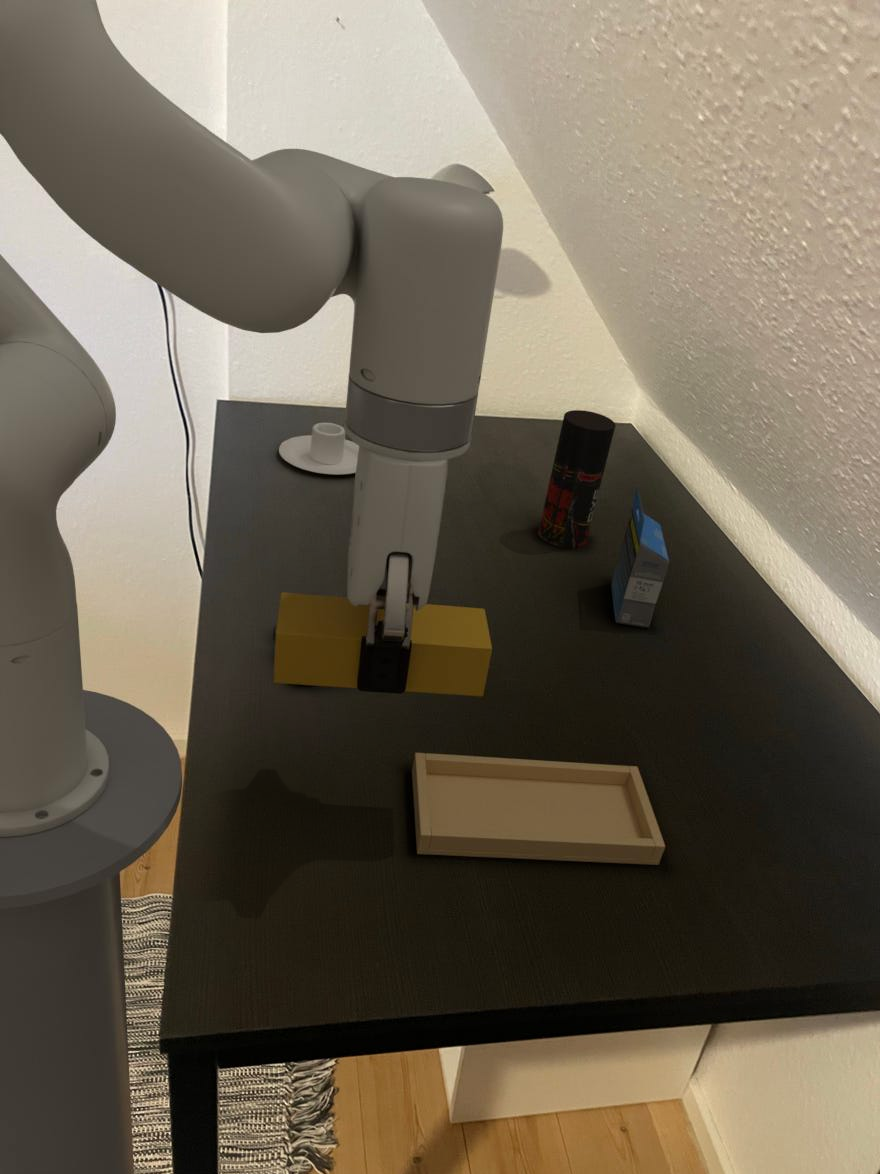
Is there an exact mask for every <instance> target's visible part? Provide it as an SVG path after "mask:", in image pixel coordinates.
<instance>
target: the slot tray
mask: <svg viewBox="0 0 880 1174" xmlns="http://www.w3.org/2000/svg"><path fill="white" fill-rule="evenodd" d="M411 778H412V779H411V780H412V793H413V794H412V795H413V808H414V809H413V810H414V811H413V813H414V825H415V827H414V828H415V844H416V854H417V855H433V856H453V857H477V858H495V859H496V858H497V859H499V858H500V859H519V860H521V859H522V860H543V861H562V862H566V861H567V862H586V863H587V862H588V863H606V864H607V863H608V864H630V865H652V866H653V865H654V866H655V865H656V866H659V865H660V862H661V860H662V856H663V854H664V852H665V849H666V844H665V841H664V839H663V835H662V833H661V830H660V826H659V824H658V821H657V819H656V816H655V813H654V810H653V806H652V804H651V802H650V798H649V795H648V793H647V790H646V787H645V784H644V781H643V778H642V776H641V773H640V770H639V767H638V766H637V765H636V766H634V765H620V764H619V765H618V764H601V763H589V762H588V763H586V762H571V761H570V762H569V761H556V760H555V761H553V760H539V759H538V760H537V759H524V758H506V757H492V756H478V755H477V756H475V755H461V754H459V755H458V754H446V753H445V754H444V753H429V752H428V753H424V752H415V753H414V756H413V763H412V768H411Z"/></svg>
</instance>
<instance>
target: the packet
mask: <svg viewBox="0 0 880 1174" xmlns="http://www.w3.org/2000/svg"><path fill="white" fill-rule="evenodd" d="M368 610H369V605H368V606H365V605H358V606H354V605H352V604H351V603H350V601H349V600H348V597H344V596H342V597H341V596H329V595H317V594H306V593H292V592H281V593H280V599H279V607H278V612H277V613H278V614H277V622H276V625H277V628H276V639H275V642H274V659H273V660H274V662H273V683H274V684H286V685H300V686H315V687H329V688H347V689H358V688H357V678H358V668H359V659H360V649H361V640H362V636H365V637H366V633H367V622H368ZM486 614H487V613H486V609H485V608H481V607H479V608H478V607H466V606H455V605H444V604H443V605H442V604H431V603H429V604H428V603H426V605H425V606H424V607H423V608H422V609H420V610H418V611H416V608H415V607H414V609H413V619H412V628H411V638H410V640H412V648H411V655H410V662H409V669H408V676H407V683H406V690H405V692H407V693H421V694H422V693H423V694H437V695H452V696H453V695H454V696H466V697H467V696H469V697H483V696H484V694H485V689H486V683H487V679H488V678H487V677H488V674H489V673H488V672H489V668H490V662H491V658H492V657H491V656H492V654H493V653H492V652H493V646H492V645H493V644H492V640H491V635H490V630H489V624H488V620H487V619H488V618H487V615H486ZM383 618H384V609H378V612H377V623H378V621H383ZM377 623H376V625H377Z"/></svg>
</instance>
